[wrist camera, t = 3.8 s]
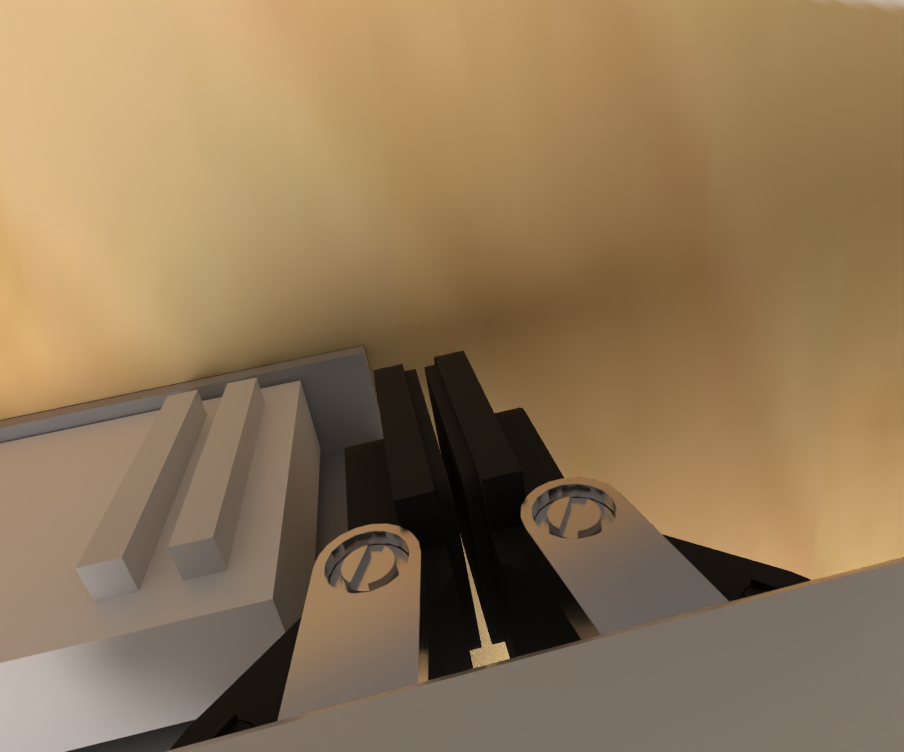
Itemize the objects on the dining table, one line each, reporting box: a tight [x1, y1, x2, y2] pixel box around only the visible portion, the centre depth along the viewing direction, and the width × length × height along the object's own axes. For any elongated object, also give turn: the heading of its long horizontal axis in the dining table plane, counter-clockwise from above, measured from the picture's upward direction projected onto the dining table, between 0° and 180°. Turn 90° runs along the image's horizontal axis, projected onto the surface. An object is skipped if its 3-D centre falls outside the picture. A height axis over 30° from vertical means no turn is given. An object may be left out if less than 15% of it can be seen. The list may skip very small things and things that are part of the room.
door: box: [0, 378, 321, 752], centre depth 11 cm, size 8×2×6 cm, turn 99°
